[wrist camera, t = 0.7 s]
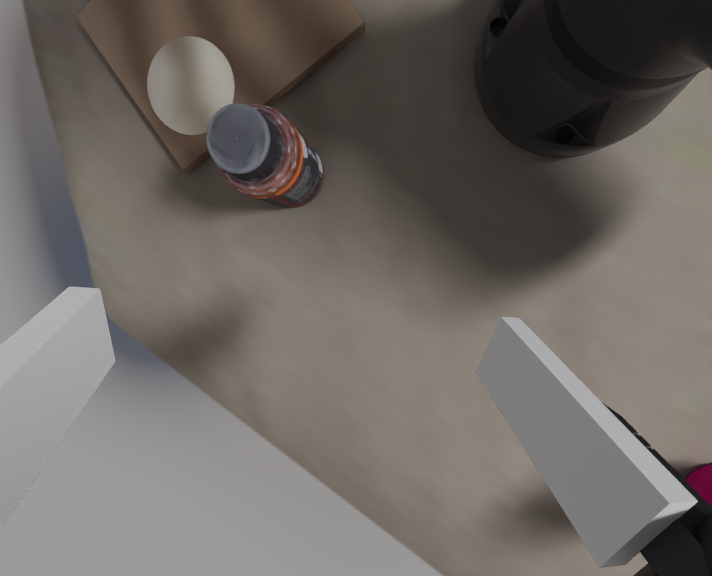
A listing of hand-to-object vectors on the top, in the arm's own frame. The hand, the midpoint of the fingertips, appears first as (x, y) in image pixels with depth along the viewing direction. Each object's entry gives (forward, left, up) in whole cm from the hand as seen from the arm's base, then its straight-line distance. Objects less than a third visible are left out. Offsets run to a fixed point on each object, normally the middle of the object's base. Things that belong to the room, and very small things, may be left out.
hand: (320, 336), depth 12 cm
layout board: (-2, -25, -20) cm, 32 cm away
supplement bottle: (0, -11, -20) cm, 23 cm away
